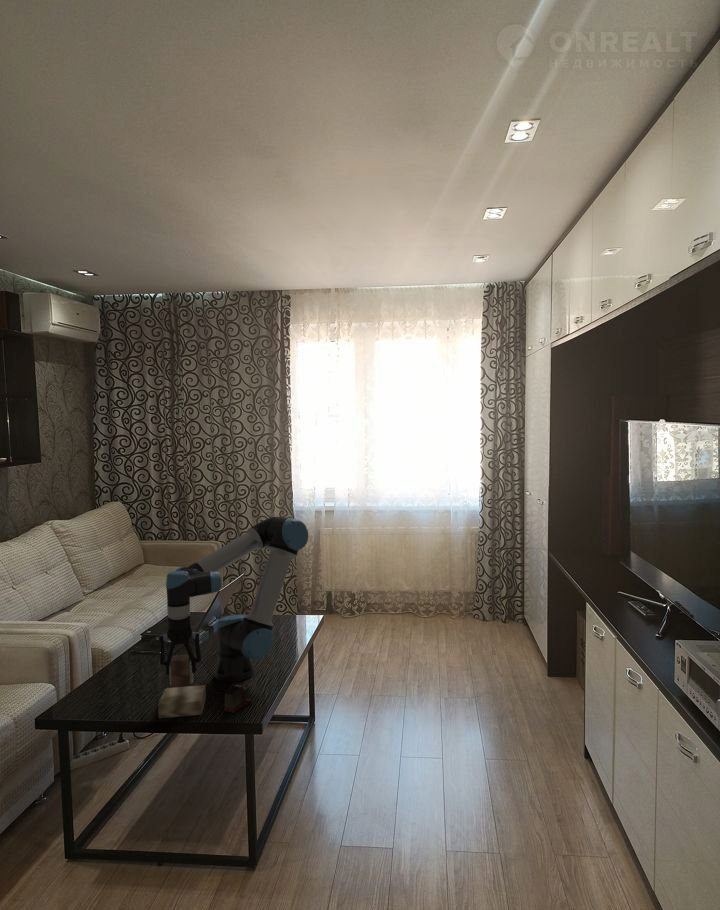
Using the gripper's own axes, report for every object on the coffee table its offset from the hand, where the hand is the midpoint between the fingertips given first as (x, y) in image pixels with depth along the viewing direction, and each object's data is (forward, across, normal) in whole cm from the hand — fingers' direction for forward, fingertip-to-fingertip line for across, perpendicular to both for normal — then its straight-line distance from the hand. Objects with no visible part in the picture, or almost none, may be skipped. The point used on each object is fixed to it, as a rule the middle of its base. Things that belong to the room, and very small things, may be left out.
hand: (181, 682), depth 222 cm
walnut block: (0, 0, 0) cm, 0 cm away
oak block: (+9, 0, 0) cm, 9 cm away
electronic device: (+9, -19, +4) cm, 22 cm away
